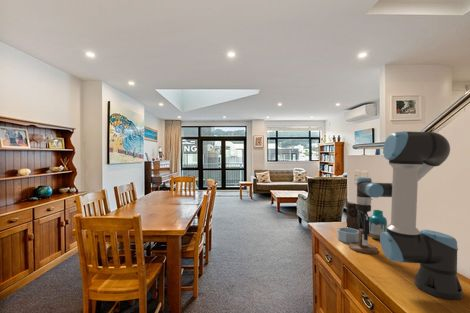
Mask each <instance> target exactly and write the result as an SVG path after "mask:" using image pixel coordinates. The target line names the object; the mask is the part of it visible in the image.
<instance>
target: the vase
mask: <svg viewBox="0 0 470 313" xmlns="http://www.w3.org/2000/svg"><path fill="white" fill-rule="evenodd" d="M369 217H370V218H369V233H370V234H368V236H370V237H371V238H372V239H374V240H378V241H380V235H381V233H382V232H386V231H387V226H388V220H387V217H385V216H384V211H383V210H380V209H373V211H372V214H371V215H369Z"/></svg>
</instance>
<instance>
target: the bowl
mask: <svg viewBox="0 0 470 313" xmlns="http://www.w3.org/2000/svg"><path fill="white" fill-rule="evenodd" d="M336 230H337V232H336V233H337V234H336V235H337V236H336V238H337V239H338V241H340V242H342V243H345V244H350V243H353V242H359V230H356V229H353V228H347V226H346V227H345V226H344V227H343V226H341V227H338V228H337V229H336Z"/></svg>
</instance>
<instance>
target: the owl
mask: <svg viewBox="0 0 470 313" xmlns="http://www.w3.org/2000/svg"><path fill="white" fill-rule="evenodd" d="M346 202H347V203H346V211H345V215H346V220H345V222H346V228H347V227H348V228H353V229H356V230H359V227H358V212H360V211H359V210H357V203H355V202H352V201H346Z"/></svg>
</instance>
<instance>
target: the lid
mask: <svg viewBox="0 0 470 313" xmlns="http://www.w3.org/2000/svg"><path fill="white" fill-rule="evenodd" d="M362 233H363V229H359V242H353V243H348V248H349V249H350V250H352V251H354V252H356V253H357V252H360V253H359V254H366V255H376V254H378V252H379V249H378V248H377V246H375V245H373V244H369V243H368V246H365V245H362V235H363V234H362ZM375 253H376V254H375Z"/></svg>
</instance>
